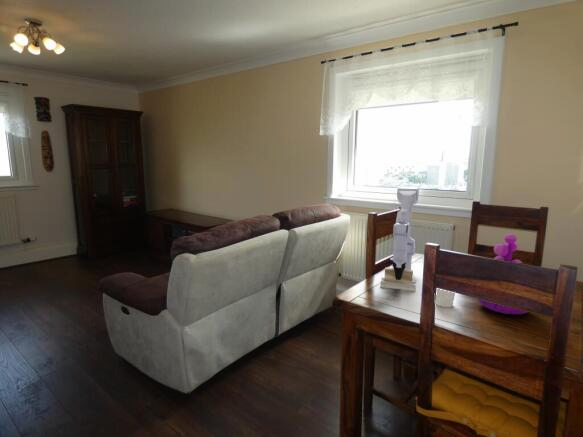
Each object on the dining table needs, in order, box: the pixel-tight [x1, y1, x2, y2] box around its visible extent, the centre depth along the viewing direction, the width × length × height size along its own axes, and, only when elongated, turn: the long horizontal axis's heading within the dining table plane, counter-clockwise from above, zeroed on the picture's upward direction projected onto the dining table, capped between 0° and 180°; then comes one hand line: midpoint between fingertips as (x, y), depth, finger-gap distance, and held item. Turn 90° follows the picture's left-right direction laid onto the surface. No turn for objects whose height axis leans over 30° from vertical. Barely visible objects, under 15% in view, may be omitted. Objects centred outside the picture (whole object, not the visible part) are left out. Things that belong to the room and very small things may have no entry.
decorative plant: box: [477, 233, 528, 315], centre depth 128 cm, size 19×18×30 cm
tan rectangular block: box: [384, 267, 414, 284], centre depth 154 cm, size 2×12×7 cm, turn 71°
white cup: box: [435, 289, 456, 308], centre depth 135 cm, size 8×8×10 cm
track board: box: [379, 276, 417, 292], centre depth 155 cm, size 7×15×2 cm, turn 71°
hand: (398, 278), depth 154 cm, fingers closed on tan rectangular block, 2 cm apart
